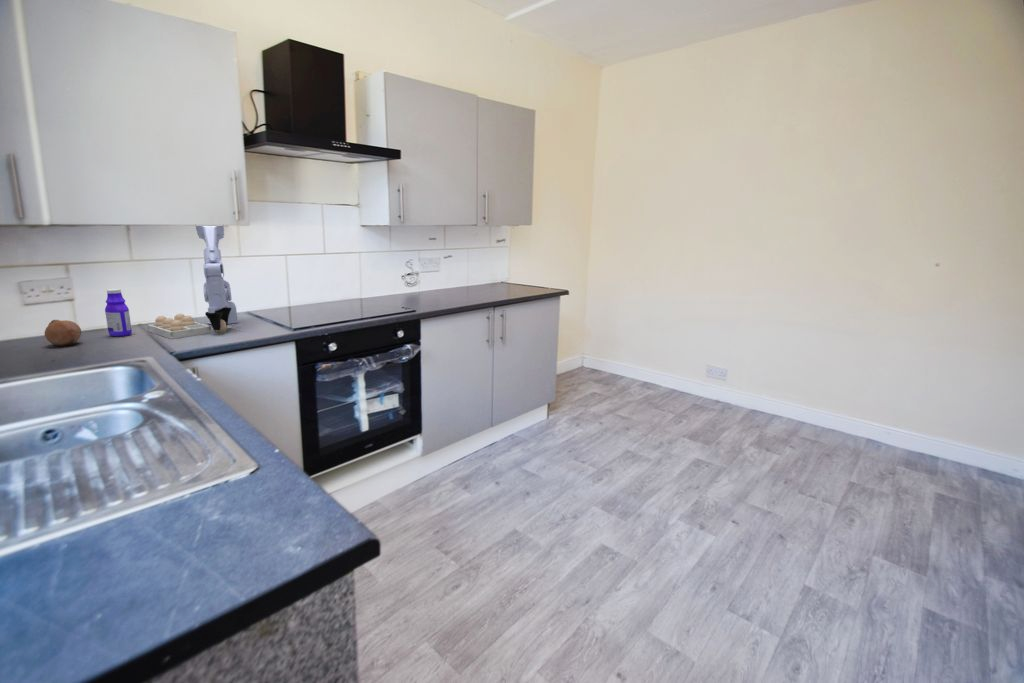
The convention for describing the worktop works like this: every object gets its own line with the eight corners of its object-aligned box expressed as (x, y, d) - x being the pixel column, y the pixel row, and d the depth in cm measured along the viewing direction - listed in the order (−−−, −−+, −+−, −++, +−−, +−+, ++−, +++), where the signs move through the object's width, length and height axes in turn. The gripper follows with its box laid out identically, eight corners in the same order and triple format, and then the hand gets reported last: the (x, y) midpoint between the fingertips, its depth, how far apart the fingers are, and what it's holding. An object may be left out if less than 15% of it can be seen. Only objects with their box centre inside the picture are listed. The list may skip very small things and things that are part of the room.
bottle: (136, 334, 192) (129, 288, 188) (123, 337, 186) (115, 290, 182) (118, 333, 192) (111, 288, 188) (105, 336, 187) (97, 290, 183)
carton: (187, 325, 208) (185, 311, 206) (211, 332, 196) (209, 317, 195) (148, 331, 197) (145, 316, 195) (171, 339, 185) (169, 323, 184)
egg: (223, 330, 202) (222, 317, 201) (228, 331, 199) (227, 319, 198) (213, 331, 198) (211, 319, 197) (218, 333, 196) (216, 320, 195)
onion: (53, 354, 173) (33, 329, 170) (82, 341, 181) (63, 317, 178) (62, 348, 168) (41, 322, 165) (92, 335, 175) (72, 310, 173)
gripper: (220, 296, 189) (224, 331, 192) (234, 291, 203) (237, 324, 206) (200, 296, 188) (204, 331, 191) (215, 291, 202) (219, 324, 205)
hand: (220, 327), depth 199 cm, fingers open, 7 cm apart
